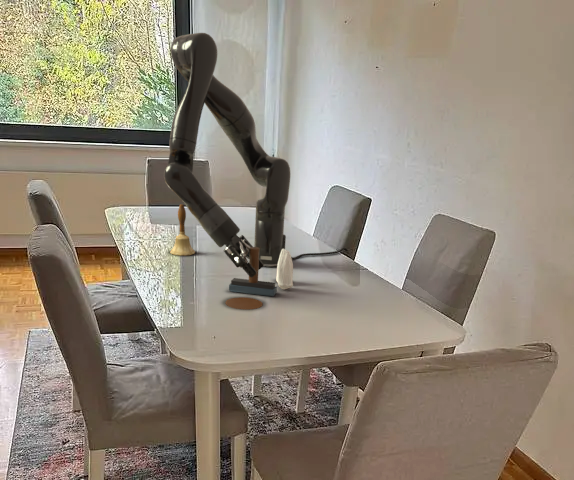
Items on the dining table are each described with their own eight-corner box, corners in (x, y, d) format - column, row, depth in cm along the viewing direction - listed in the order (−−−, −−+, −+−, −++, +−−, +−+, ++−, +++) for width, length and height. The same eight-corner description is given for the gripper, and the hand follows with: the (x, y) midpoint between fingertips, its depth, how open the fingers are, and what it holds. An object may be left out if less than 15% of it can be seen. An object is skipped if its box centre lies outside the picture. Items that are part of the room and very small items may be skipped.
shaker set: (292, 292, 181) (295, 254, 177) (278, 291, 181) (280, 253, 176) (289, 280, 192) (291, 244, 187) (275, 279, 192) (277, 243, 187)
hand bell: (166, 254, 210) (165, 205, 203) (174, 248, 218) (174, 201, 211) (190, 256, 209) (190, 207, 202) (198, 251, 217) (198, 203, 210)
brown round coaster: (250, 296, 176) (250, 295, 176) (269, 307, 169) (269, 306, 169) (218, 300, 171) (218, 300, 171) (237, 312, 163) (237, 311, 163)
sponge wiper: (232, 288, 181) (233, 244, 176) (276, 293, 179) (279, 249, 174) (228, 291, 178) (230, 247, 172) (273, 297, 176) (276, 252, 171)
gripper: (221, 221, 165) (262, 269, 168) (235, 212, 177) (273, 257, 181) (201, 239, 168) (241, 286, 171) (216, 229, 180) (254, 273, 184)
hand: (257, 271), depth 176 cm, fingers open, 8 cm apart
